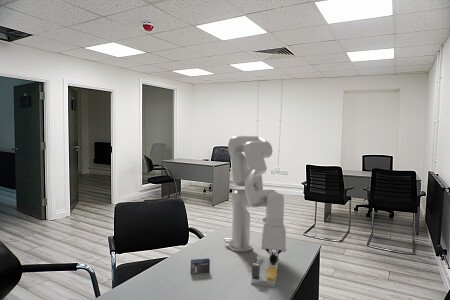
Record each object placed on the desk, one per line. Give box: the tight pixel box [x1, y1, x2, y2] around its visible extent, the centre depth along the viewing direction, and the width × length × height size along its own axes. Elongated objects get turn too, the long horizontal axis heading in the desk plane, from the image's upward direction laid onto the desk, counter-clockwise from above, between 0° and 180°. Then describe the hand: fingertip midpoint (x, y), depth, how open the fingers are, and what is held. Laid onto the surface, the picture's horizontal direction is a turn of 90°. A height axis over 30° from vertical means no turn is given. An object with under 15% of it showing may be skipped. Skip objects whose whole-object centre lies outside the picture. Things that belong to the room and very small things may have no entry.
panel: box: [250, 255, 280, 288], centre depth 133 cm, size 10×24×4 cm, turn 167°
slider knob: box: [251, 262, 260, 277], centre depth 125 cm, size 3×3×5 cm
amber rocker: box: [267, 263, 278, 281], centre depth 127 cm, size 4×9×1 cm, turn 167°
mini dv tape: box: [190, 257, 211, 275], centre depth 131 cm, size 8×2×6 cm, turn 105°
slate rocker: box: [268, 251, 280, 266], centre depth 139 cm, size 4×9×1 cm, turn 167°
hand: (273, 263), depth 130 cm, fingers closed
